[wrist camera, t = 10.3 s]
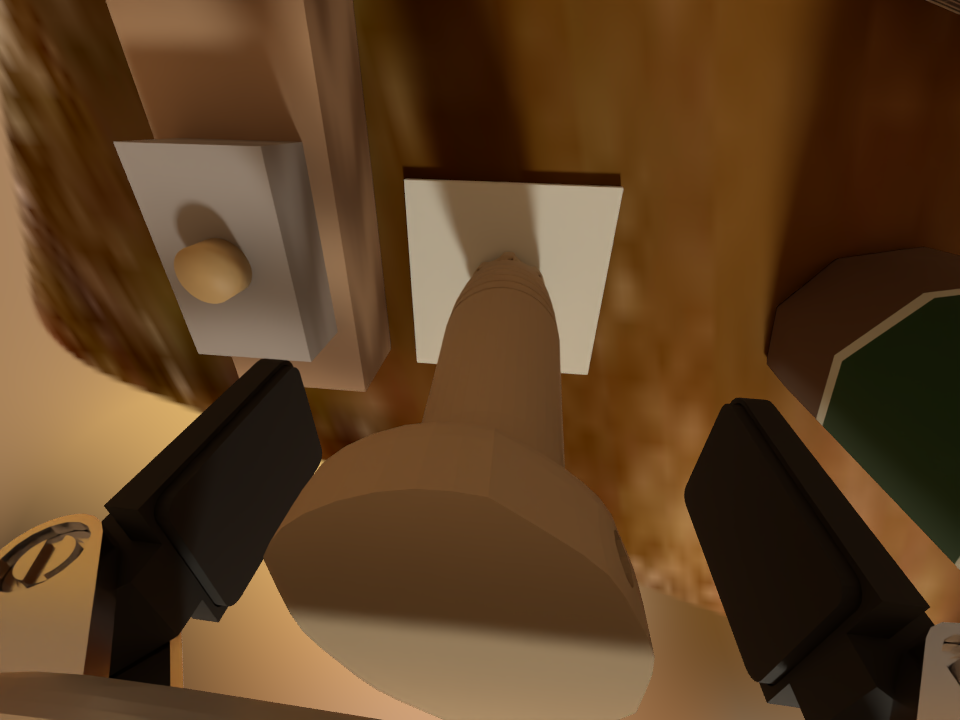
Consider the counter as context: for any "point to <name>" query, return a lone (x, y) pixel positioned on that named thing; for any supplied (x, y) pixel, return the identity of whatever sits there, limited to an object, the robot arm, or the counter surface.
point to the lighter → (948, 4)
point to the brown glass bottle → (884, 374)
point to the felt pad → (511, 228)
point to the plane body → (260, 180)
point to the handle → (472, 538)
